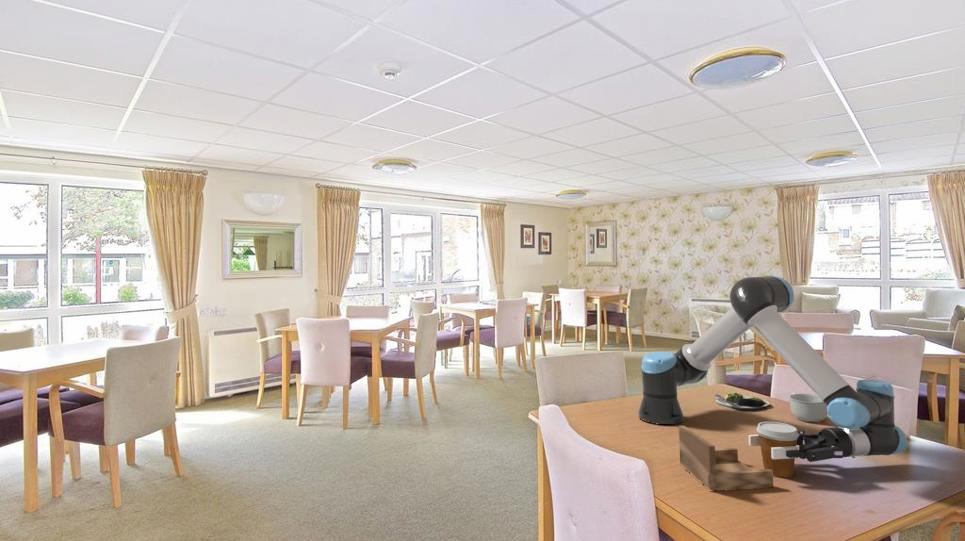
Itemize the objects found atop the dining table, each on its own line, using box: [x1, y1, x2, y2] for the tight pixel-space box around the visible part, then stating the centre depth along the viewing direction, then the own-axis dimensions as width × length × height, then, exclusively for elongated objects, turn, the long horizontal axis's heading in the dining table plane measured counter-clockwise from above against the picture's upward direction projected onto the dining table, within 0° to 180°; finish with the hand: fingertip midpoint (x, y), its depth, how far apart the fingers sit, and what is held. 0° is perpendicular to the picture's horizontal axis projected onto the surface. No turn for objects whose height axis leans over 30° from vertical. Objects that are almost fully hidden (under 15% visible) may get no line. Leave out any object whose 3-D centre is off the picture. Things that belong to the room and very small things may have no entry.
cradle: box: [678, 425, 774, 491], centre depth 120 cm, size 16×15×11 cm
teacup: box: [789, 392, 828, 423], centre depth 163 cm, size 14×11×8 cm
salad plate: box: [714, 392, 771, 412], centre depth 182 cm, size 19×18×5 cm
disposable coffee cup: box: [755, 421, 799, 479], centre depth 121 cm, size 10×10×12 cm
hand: (760, 446), depth 121 cm, fingers closed on disposable coffee cup, 8 cm apart
